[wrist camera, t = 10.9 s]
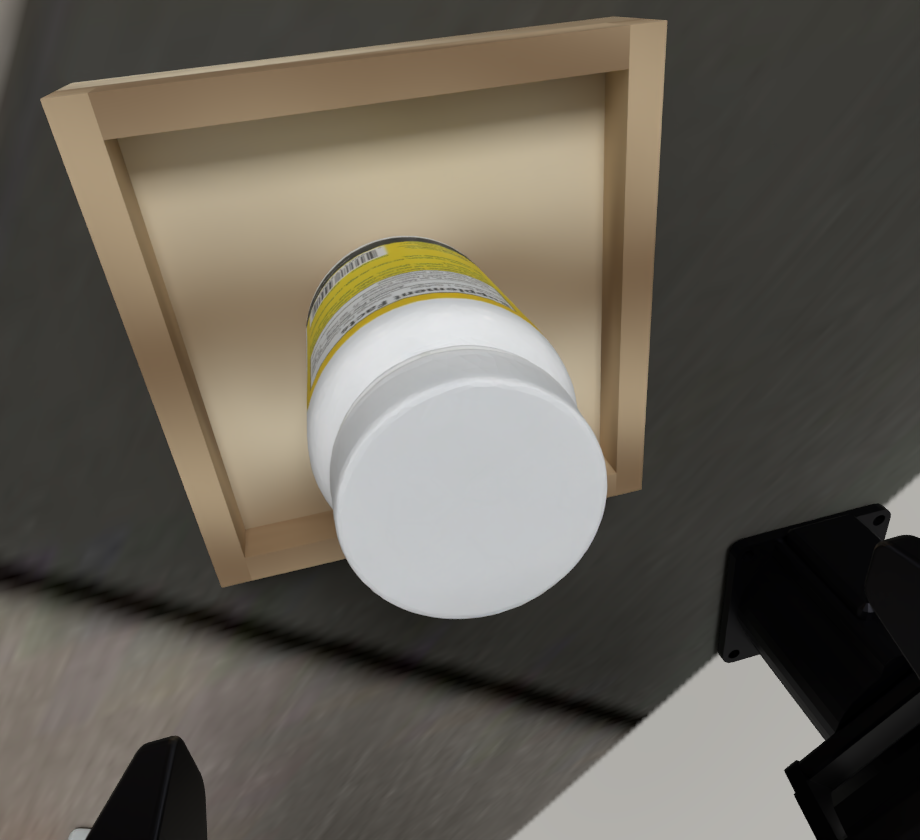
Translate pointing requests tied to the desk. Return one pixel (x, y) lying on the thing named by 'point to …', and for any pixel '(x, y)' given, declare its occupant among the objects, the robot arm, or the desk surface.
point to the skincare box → (79, 834)
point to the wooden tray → (365, 235)
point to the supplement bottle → (445, 434)
